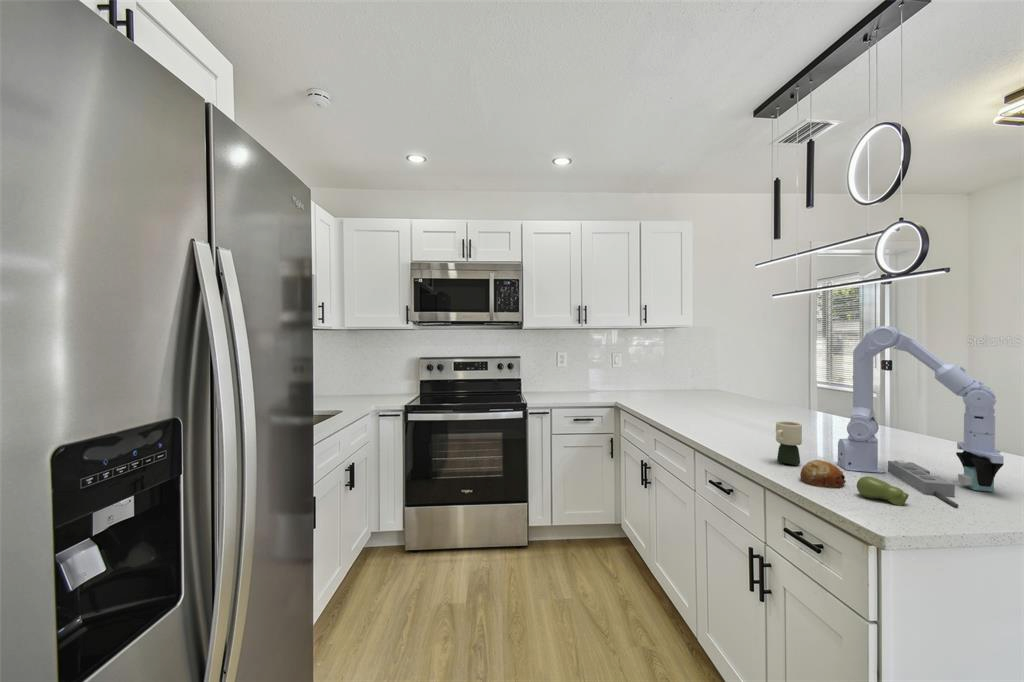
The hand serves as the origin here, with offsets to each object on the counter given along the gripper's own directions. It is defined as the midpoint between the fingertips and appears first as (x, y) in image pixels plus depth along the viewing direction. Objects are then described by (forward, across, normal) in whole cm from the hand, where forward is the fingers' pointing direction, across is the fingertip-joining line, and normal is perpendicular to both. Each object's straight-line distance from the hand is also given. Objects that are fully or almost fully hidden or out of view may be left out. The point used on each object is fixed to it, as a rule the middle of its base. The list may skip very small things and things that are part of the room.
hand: (978, 483), depth 118 cm
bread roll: (+2, -6, +37) cm, 38 cm away
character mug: (+2, +11, +41) cm, 43 cm away
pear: (+2, -17, +27) cm, 32 cm away
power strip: (+2, -3, +12) cm, 13 cm away
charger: (+2, 0, 0) cm, 2 cm away
